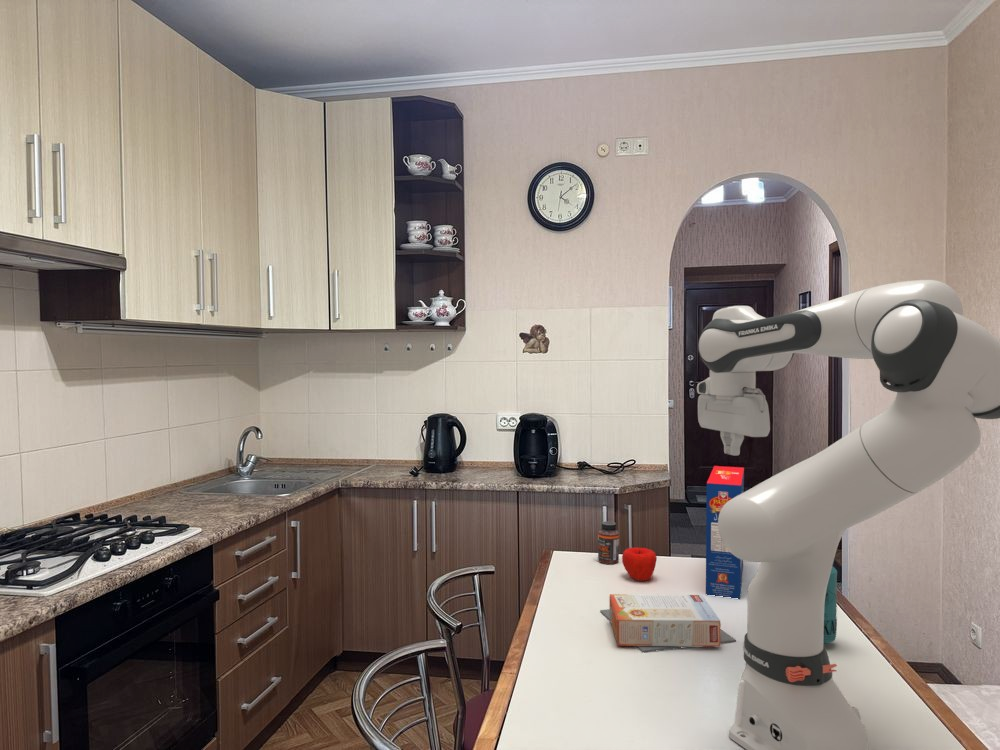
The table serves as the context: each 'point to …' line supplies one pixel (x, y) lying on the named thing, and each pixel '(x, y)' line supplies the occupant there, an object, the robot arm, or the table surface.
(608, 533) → the supplement bottle
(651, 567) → the apple
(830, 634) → the beverage bottle
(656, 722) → the table surface
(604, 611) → the mat
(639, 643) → the cracker box
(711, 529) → the pasta box
